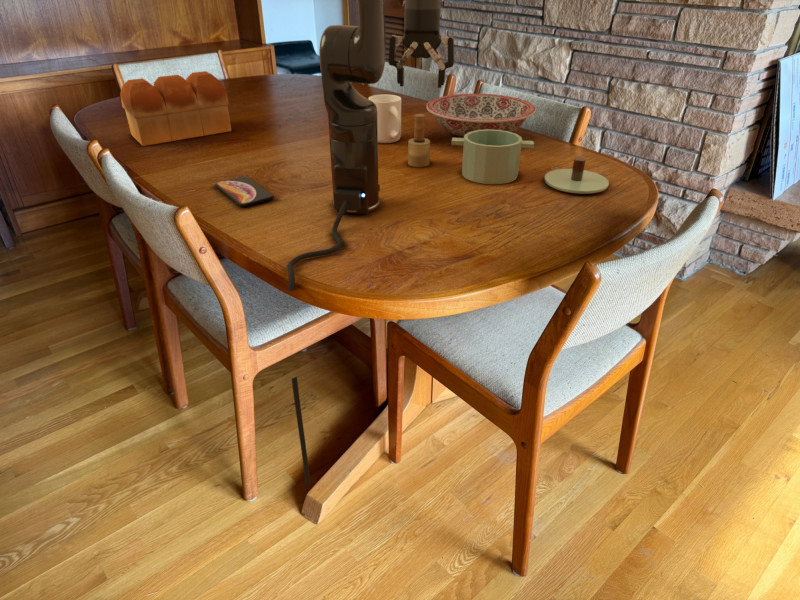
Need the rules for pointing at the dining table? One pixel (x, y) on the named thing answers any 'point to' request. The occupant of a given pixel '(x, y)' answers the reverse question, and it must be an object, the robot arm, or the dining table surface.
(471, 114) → the ceramic bowl
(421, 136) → the rubber stamp
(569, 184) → the lid
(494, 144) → the pot
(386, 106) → the mug
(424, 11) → the robot arm
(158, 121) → the bread
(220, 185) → the smartphone
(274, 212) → the dining table surface
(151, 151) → the dining table surface
